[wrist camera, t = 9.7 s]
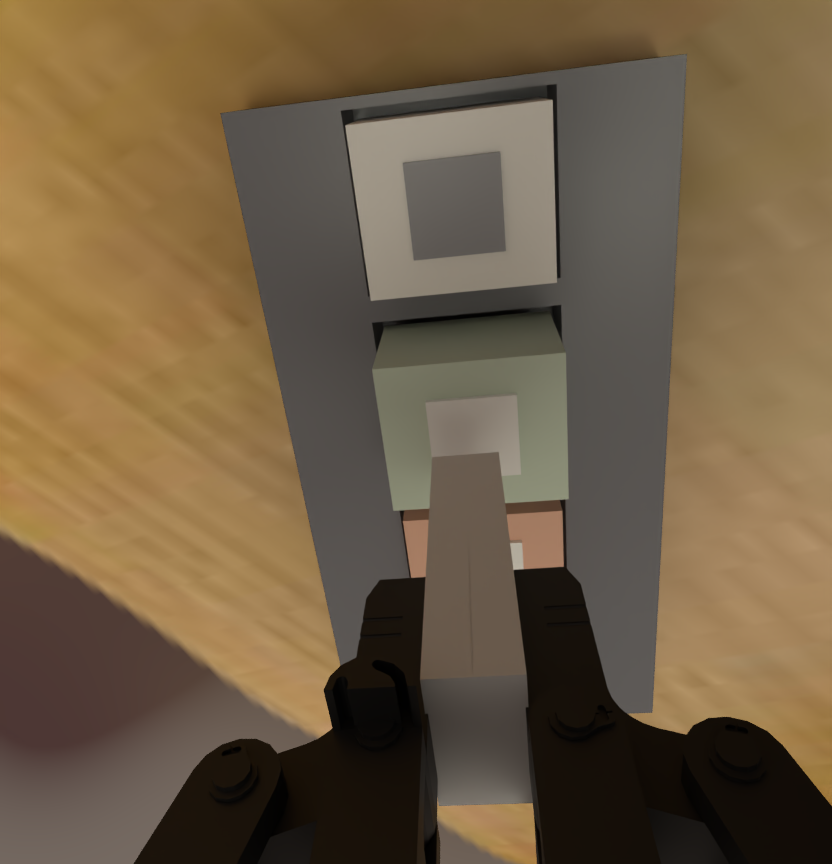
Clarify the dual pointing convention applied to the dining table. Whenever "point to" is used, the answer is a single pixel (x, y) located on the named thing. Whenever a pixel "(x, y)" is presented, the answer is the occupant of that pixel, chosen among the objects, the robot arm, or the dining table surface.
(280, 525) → the dining table surface
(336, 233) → the keypad
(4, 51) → the dining table surface
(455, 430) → the key
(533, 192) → the key
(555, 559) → the key
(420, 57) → the dining table surface
